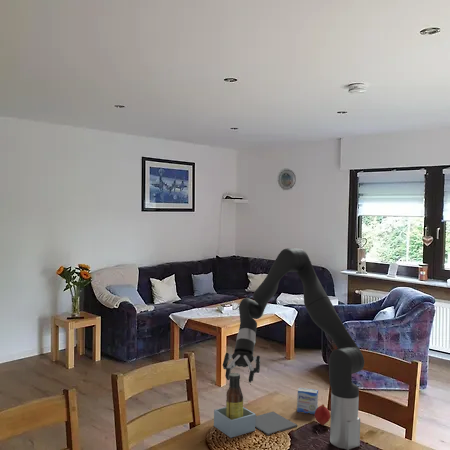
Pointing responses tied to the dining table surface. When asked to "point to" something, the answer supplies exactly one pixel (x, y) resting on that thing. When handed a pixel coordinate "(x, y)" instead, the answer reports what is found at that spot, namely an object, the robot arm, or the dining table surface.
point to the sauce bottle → (234, 398)
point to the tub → (234, 422)
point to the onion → (322, 414)
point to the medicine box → (307, 400)
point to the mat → (273, 423)
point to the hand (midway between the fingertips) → (238, 380)
